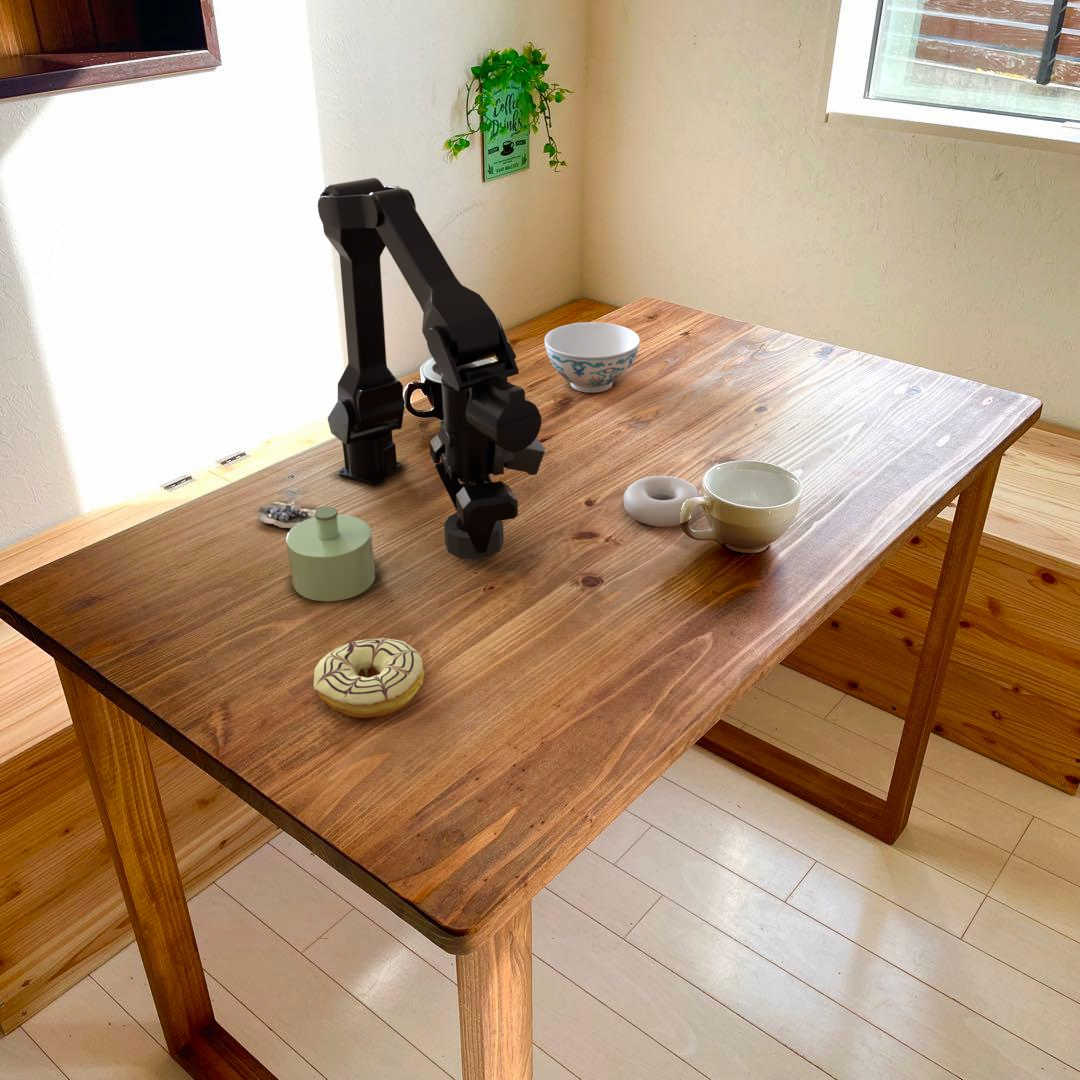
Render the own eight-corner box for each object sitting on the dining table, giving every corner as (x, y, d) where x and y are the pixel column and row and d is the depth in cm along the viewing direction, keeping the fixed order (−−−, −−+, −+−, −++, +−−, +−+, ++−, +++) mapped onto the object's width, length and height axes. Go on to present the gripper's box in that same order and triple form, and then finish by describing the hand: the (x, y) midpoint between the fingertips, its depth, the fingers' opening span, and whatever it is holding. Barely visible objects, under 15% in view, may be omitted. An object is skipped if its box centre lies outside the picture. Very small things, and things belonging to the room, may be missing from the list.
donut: (617, 528, 139) (697, 535, 137) (618, 504, 137) (699, 510, 135) (628, 491, 147) (703, 496, 145) (628, 468, 145) (705, 473, 143)
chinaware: (641, 403, 171) (643, 356, 167) (544, 403, 171) (543, 357, 167) (635, 366, 184) (636, 321, 180) (545, 366, 184) (544, 322, 180)
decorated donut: (347, 651, 117) (343, 622, 115) (440, 670, 114) (438, 640, 112) (298, 711, 109) (293, 681, 107) (397, 734, 106) (394, 703, 104)
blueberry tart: (263, 504, 145) (261, 491, 144) (324, 503, 145) (322, 490, 144) (252, 530, 139) (250, 517, 138) (316, 529, 139) (314, 516, 138)
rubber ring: (438, 556, 131) (437, 534, 129) (455, 527, 136) (454, 506, 135) (494, 562, 129) (493, 540, 128) (509, 533, 135) (508, 512, 133)
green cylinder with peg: (275, 588, 128) (264, 521, 123) (326, 549, 135) (318, 484, 130) (342, 610, 124) (334, 541, 119) (391, 569, 131) (385, 502, 126)
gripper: (562, 444, 118) (562, 566, 126) (515, 378, 134) (517, 491, 142) (461, 458, 116) (467, 582, 124) (424, 390, 131) (432, 504, 139)
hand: (474, 537), depth 132 cm, fingers closed on rubber ring, 7 cm apart
